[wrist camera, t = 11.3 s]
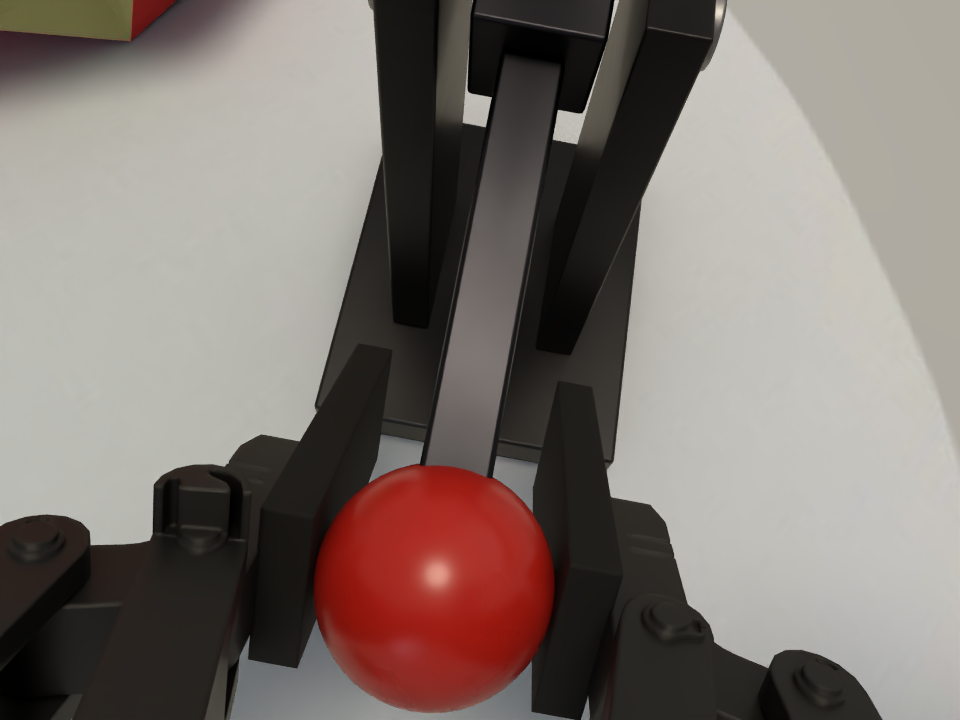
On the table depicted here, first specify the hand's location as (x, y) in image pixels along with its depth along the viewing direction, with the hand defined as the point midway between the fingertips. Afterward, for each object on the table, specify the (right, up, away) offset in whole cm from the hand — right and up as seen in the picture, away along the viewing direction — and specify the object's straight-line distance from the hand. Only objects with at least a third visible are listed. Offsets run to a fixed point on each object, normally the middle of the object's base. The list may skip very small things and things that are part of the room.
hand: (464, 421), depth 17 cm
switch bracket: (+1, +3, +7) cm, 7 cm away
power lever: (0, +2, -3) cm, 4 cm away
